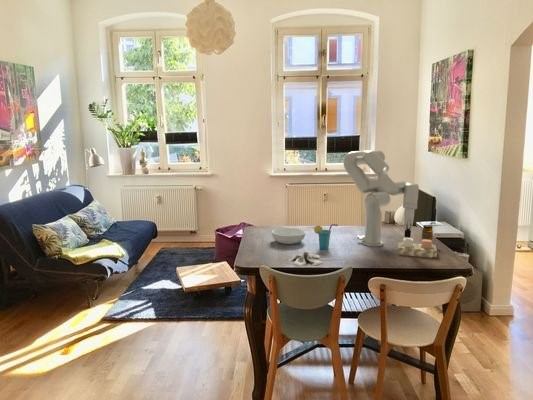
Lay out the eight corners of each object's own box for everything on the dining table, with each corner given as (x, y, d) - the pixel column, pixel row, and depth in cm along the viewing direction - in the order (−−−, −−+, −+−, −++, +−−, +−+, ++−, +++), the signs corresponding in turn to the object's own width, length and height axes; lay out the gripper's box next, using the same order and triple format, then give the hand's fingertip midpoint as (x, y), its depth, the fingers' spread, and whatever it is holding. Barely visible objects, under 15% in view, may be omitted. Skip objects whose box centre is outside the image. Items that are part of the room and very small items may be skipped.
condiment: (435, 245, 255) (436, 226, 253) (426, 247, 250) (427, 228, 248) (424, 242, 261) (426, 223, 259) (415, 244, 256) (417, 225, 254)
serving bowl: (293, 249, 247) (293, 237, 246) (264, 243, 260) (264, 232, 259) (311, 241, 264) (311, 230, 262) (284, 236, 276) (284, 226, 275)
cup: (335, 246, 252) (335, 222, 250) (338, 250, 245) (339, 225, 242) (312, 247, 251) (312, 222, 248) (315, 251, 243) (316, 225, 240)
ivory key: (403, 250, 239) (403, 239, 238) (402, 248, 243) (403, 237, 242) (412, 251, 237) (413, 240, 236) (412, 248, 242) (412, 238, 241)
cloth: (318, 255, 238) (318, 244, 237) (328, 265, 220) (329, 254, 219) (279, 257, 234) (279, 246, 232) (287, 268, 216) (287, 257, 215)
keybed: (398, 254, 236) (398, 247, 236) (398, 248, 248) (398, 242, 247) (436, 257, 231) (437, 250, 230) (434, 251, 242) (435, 244, 241)
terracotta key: (421, 252, 236) (422, 241, 235) (421, 249, 241) (421, 239, 239) (431, 252, 234) (432, 242, 233) (430, 250, 239) (431, 239, 238)
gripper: (402, 202, 244) (400, 232, 248) (403, 207, 230) (400, 239, 233) (416, 203, 242) (413, 234, 245) (417, 208, 228) (414, 241, 231)
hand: (407, 236), depth 239 cm, fingers closed
